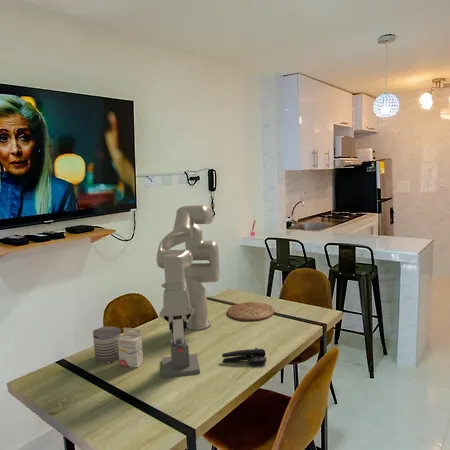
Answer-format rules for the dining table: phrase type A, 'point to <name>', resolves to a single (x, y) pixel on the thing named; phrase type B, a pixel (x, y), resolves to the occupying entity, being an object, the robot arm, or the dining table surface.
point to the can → (106, 344)
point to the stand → (180, 361)
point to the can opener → (246, 356)
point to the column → (178, 329)
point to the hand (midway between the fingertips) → (178, 330)
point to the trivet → (250, 311)
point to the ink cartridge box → (130, 348)
